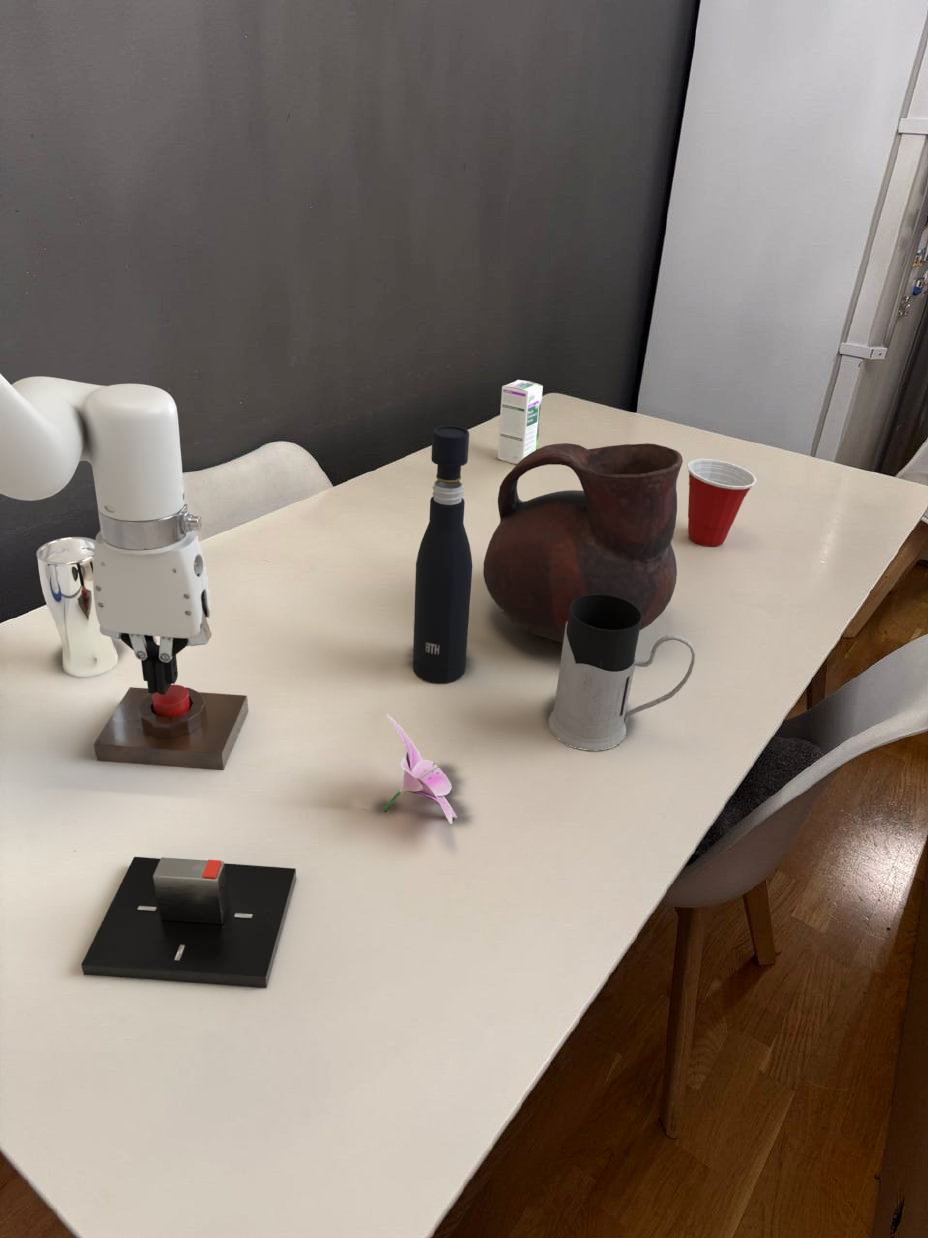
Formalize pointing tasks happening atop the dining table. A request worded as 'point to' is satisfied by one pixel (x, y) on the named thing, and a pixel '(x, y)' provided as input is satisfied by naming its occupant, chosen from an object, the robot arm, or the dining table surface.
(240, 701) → the switch block
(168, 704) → the power button
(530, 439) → the syrup box
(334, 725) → the dining table surface
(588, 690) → the glass holder
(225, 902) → the hob knob
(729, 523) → the plastic cup
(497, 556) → the jug
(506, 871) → the dining table surface
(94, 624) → the beer glass
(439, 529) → the black insulated flask
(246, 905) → the panel
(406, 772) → the lily
